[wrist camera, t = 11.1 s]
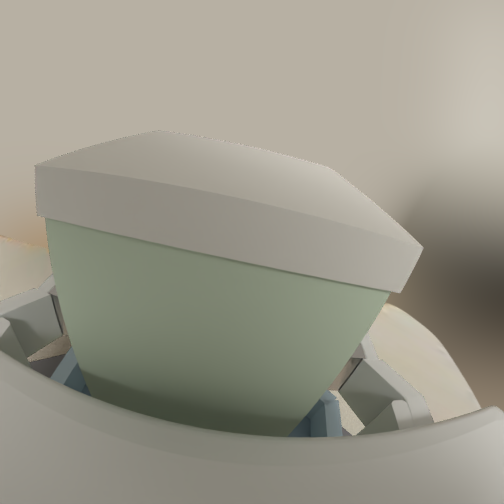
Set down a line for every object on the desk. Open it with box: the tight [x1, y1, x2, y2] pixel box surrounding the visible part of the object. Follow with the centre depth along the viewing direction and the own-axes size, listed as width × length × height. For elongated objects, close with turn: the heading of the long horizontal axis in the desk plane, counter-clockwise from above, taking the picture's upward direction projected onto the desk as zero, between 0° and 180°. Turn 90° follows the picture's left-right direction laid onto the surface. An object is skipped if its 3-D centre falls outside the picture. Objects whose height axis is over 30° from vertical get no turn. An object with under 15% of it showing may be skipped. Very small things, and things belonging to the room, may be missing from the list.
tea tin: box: [35, 130, 423, 437], centre depth 9 cm, size 6×6×15 cm
